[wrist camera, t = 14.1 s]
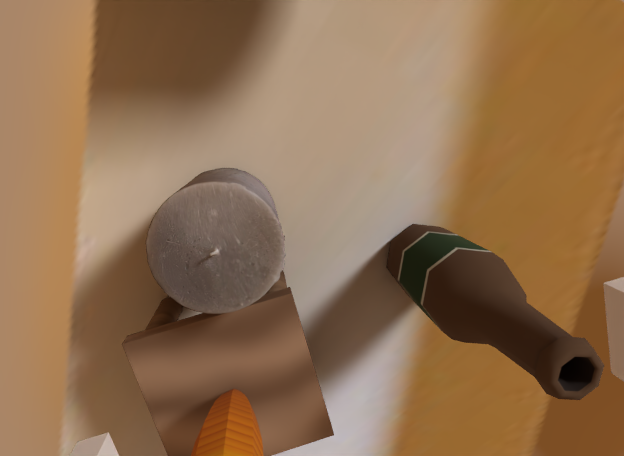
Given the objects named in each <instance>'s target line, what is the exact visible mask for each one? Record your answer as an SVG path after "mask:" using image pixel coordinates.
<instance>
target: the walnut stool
mask: <svg viewBox="0 0 624 456" xmlns="http://www.w3.org/2000/svg"><path fill="white" fill-rule="evenodd" d="M181 310H182V305H181V304H179V303H177V302H176V301H175V300H174V299H172V298H171V297H168V298H165V299H164V300H162V302H161V303H160V305H159V307H158V309H157V310H156V312H155V314H154V316H153V317H152V319H151V321H150V323H149V324H148V326H147V328H146V330H145V331H142V332H139V333H135V334H132V335H129V336H127V337H126V339H125V341H124V342H123V344H122V345H123V348H124V350H125V353H126V355H127V357H128V360H129V362H130V365H131V367H132V370H133V372H134V374H135V377H136V379H137V382H138V384H139V386H140V389H141V391H142V394H143V396H144V399H145V401H146V403H147V406H148V408H149V411H150V413H151V415H152V418H153V420H154V423H155V425H156V428H157V430H158V432H159V435H160V437H161V440H162V442H163V444H164V447H165V449H166V452H167V454H168V456H191V454H192V450H193V447H194V444H195V441H196V439H197V437H198V435H199V433H200V430H201V428H202V426H203V424H204V422H205V419H206V417H207V415H208V413H209V411H210V409H211V407H212V406H213V404H214V402H215V401H216V400H217V399H218V398H219V397H220V396H221V395H222V394H224V393H226V392H227V391H229V390H232V389H237V390H239V391H241V392H242V393H243V394H245V396H246V397H247V399H248V400H249V402H250V405H251V407H252V409H253V411H254V413H255V416H256V419H257V422H258V425H259V429H260V433H261V437H262V444H263V456H271V455H274V454H277V453H280V452H283V451H286V450H290V449H293V448H296V447H299V446H302V445H305V444H308V443H311V442H314V441H317V440H320V439H323V438H326V437H330V436H333V435H334V433H333V430H332V426H331V422H330V419H329V415H328V412H327V409H326V405H325V402H324V399H323V395H322V392H321V389H320V385H319V382H318V379H317V375H316V372H315V369H314V365H313V362H312V359H311V355H310V352H309V349H308V345H307V342H306V339H305V335H304V332H303V329H302V325H301V322H300V319H299V315H298V312H297V309H296V305H295V302H294V299H293V295H292V292H291V289H290V287H288V288H287V285H286V280H285V275H284V272H283V270H282V272H280V278H279V280H278V281H277V282H276V283H274V284H273V286H272V287H271V288H270V289H269V290H268V292H267V293H266V294H265V295H264V296H262V297H261V298H260V299H259V300H257V301H256V302H254V303H253V304H251V305H249V306H247V307H245V308H242V309H240V310H237V311H234V312H230V313H222V314H209V313H202V314H199V315H195V316H192V317H189V318H185V319H182V320H179V321H177V320H178V317H179V315H180V313H181Z"/></svg>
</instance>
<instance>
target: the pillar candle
mask: <svg viewBox="0 0 624 456" xmlns="http://www.w3.org/2000/svg"><path fill="white" fill-rule="evenodd" d="M284 241H285V236H284V235H283V233H282V227H281V224H280V222H279V219H278V215H277V211H276V208H275V204H274V201H273V199H272V197H271V195H270V193H269V191H268V190H267V188H266V187H265V186H264V185H263V183H262V182H261V181H260V180H258V179H257V178H256V177H254V176H252V175H251V174H249V173H247V172H245V171H241V170H238V169H234V168H220V169H215V170H210V171H206V172H203V173H201V174H199V175H198V176H197V177H195V178H194V179H193V180H192V181H191V182H189V183H188V184H187V185H185V186H184V187H182V188H181V189H180V190H179V191H177V192H176V193H175V194H173V195H172V196H171V197H169V198H168V199H167V200H166V201H165V202H164V203H163V204H162V205H161V207H160V208H159V209H158V211H157V212H156V214H155V216H154V218H153V220H152V222H151V224H150V227H149V230H148V234H147V239H146V251H147V259H148V264H149V267H150V269H151V272H152V274H153V276H154V278H155V280H156V281H157V283H158V284H159V285H160V287H161V288H162V289H163V290H164V292H165V293H166V294H167V295H168V296H170V297H171V298H172V299H174V300H175V301H176V302H177V303H179V304H181V305H182V306H184V307H186V308H189V309H192V310H194V311H198V312H203V313H209V314H222V313H230V312H234V311H237V310H240V309H242V308H245V307H247V306H249V305H251V304H253V303H254V302H256V301H257V300H259V299H260V298H261V297H262V296H264V295H265V294H266V293H267V292H268V290H269V289H270V288H271V287H272V286H273V284H274V283H276V282H277V281H278V280H279V278H280V272H282V269H283V267H284V264H285V260H284V257H285V256H286V255H285V243H284Z"/></svg>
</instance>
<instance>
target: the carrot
mask: <svg viewBox="0 0 624 456" xmlns="http://www.w3.org/2000/svg"><path fill="white" fill-rule="evenodd" d="M191 456H263V444H262V437H261V433H260V429H259V425H258V422H257V419H256V416H255V413H254V411H253V409H252V407H251V405H250V402H249V400H248V399H247V397H246V396H245V394H243V393H242V392H241V391H239V390H237V389H232V390H229V391H227V392H226V393H224V394H222V395H221V396H220V397H219V398H218V399H217V400H216V401H215V402H214V404H213V406H212V407H211V409H210V411H209V413H208V415H207V417H206V419H205V422H204V424H203V426H202V428H201V430H200V433H199V435H198V437H197V439H196V441H195V444H194V447H193V450H192V454H191Z"/></svg>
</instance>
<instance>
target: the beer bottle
mask: <svg viewBox="0 0 624 456" xmlns="http://www.w3.org/2000/svg"><path fill="white" fill-rule="evenodd" d="M387 268H388V270H389V271H390V272H391V274H392V275H393V276H394V278H395V279H396V280H397V282H398V283H399V284H400V286H401V287H402V288H403V290H404V291H405V292H406V294H407V295H408V296H409V297H410V298H411V299H412V300H413V301H414V302H415V303H416V304H417V305H418V306H419V307H420V308H421V309H422V311H423V312H424V313H425V314H426V315H427V316H428V317H429V318H430V319H431V320H432V321H433V322H434V323H435V324H436V325H437V326H438V327H439V329H440V330H441V331H443V332H444V333H445V334H446V335H447V336H449V337H450V338H451V339H453V340H457V341H461V342H466V343H480V344H489V345H491V346H493V347H495V348H497V349H498V350H499V351H501V352H502V353H503V354H505V355H506V356H507V357H509V358H510V359H511V360H513V361H514V362H515V363H517V364H518V365H519V366H521V367H522V368H523V369H525V370H526V371H527V372H529V373H530V374H531V375H533V376H534V377H535V378H536V379H537V381H538V382H539V384H540V385H541V387H542V388H543V389H544V391H545V392H546V394H549V395H551V396H553V397H556V398H558V399H570V400H580V399H582V398H583V397H584V396H586V395H587V394H588V393H589V392H591V391H592V390H594V389H595V388H596V387H598V385H599V381H600V378H601V375H602V371H603V367H604V364H603V363H602V361H601V359H600V358H599V356H598V355H597V353H596V352H595V350H594V349H593V348H592V346H591V345H590V344H589V343H588V341H587V340H586V339H585V338H576V337H572V336H571V335H569V334H568V333H567V332H565V331H564V330H563V329H561V328H560V327H559V326H557V325H556V324H555V323H553V322H552V321H551V320H549V319H548V318H547V317H545V316H544V315H543V314H541V313H540V312H539V311H537V310H536V309H535V308H533V307H532V306H531V305H529V304H528V303H527V302H526V294H525V292H524V291H523V289H522V287H521V286H520V284H519V283H518V281H517V280H516V278H515V277H514V275H513V274H512V272H511V271H510V269H509V268H508V266H507V265H506V263H505V262H504V260H503V259H501V258H500V257H498V256H497V255H495V254H494V253H492V252H491V251H489V250H487V249H485V248H483V247H480V246H478V245H476V244H474V243H472V242H470V241H468V240H466V239H464V238H462V237H460V236H458V235H456V234H454V233H452V232H450V231H448V230H446V229H444V228H441V227H436V226H427V225H418V224H412V225H411V226H410V227H408V228H407V229H406V230H405V231H403V232H402V233H401V234H399V235H398V236H397V237H395V238H394V239H393V240H392V241H391V244H390V250H389V256H388V261H387Z"/></svg>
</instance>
